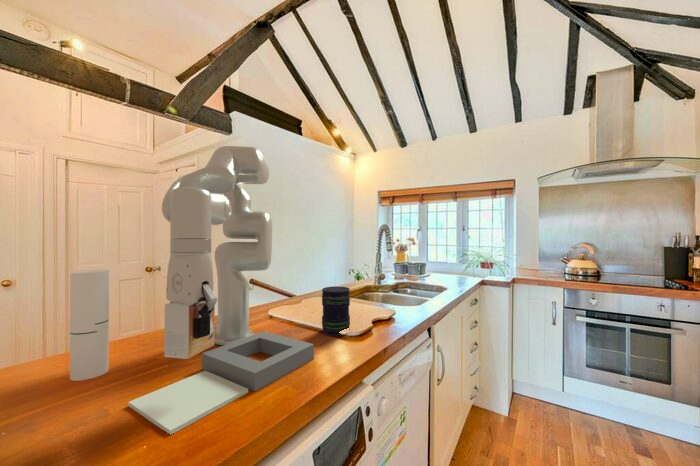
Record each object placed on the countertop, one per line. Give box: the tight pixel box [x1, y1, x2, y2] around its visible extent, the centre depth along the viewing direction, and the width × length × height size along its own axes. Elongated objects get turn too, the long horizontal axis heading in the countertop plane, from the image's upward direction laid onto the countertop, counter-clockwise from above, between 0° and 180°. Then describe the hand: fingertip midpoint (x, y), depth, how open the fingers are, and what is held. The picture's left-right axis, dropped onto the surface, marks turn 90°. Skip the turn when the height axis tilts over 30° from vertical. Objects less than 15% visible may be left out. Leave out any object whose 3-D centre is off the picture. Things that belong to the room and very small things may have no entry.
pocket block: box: [201, 331, 315, 392], centre depth 78 cm, size 20×20×4 cm
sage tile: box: [128, 370, 249, 436], centre depth 61 cm, size 16×16×1 cm
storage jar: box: [321, 286, 351, 337], centre depth 104 cm, size 10×10×15 cm
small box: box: [163, 299, 216, 360], centre depth 61 cm, size 8×6×10 cm
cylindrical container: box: [69, 269, 110, 382], centre depth 72 cm, size 7×7×25 cm
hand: (190, 332), depth 61 cm, fingers closed on small box, 7 cm apart
